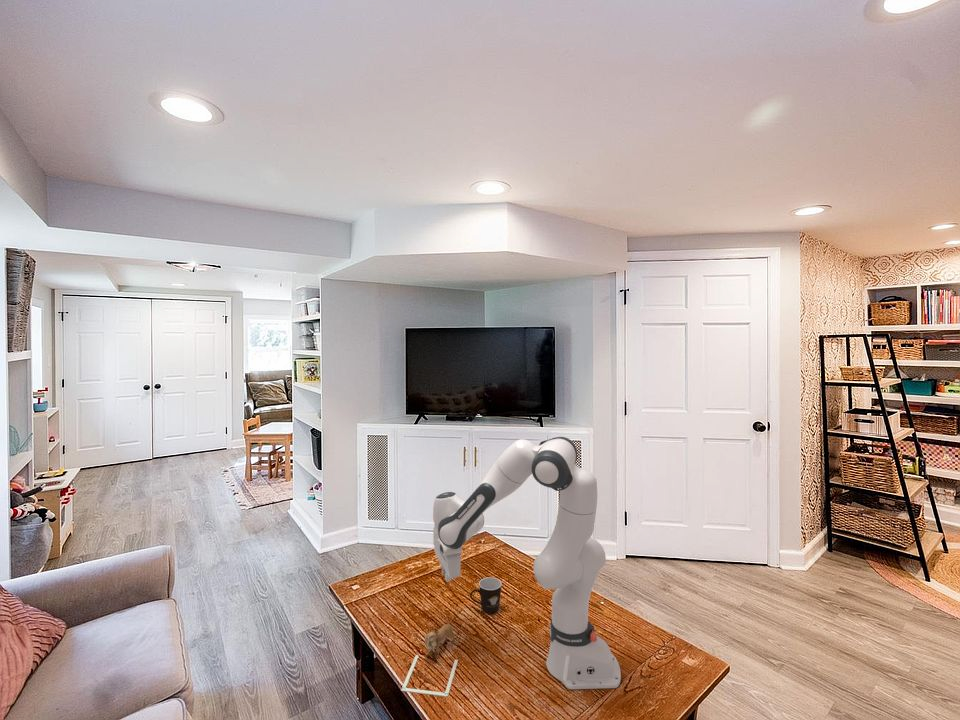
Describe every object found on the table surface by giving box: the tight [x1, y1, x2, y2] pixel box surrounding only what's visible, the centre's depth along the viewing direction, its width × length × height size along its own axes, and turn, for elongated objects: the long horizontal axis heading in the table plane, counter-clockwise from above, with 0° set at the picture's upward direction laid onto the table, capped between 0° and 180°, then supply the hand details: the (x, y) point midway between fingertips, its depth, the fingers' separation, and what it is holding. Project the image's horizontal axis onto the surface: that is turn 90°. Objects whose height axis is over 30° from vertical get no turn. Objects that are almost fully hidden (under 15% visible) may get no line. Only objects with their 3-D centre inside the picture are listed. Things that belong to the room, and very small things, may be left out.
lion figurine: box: [424, 624, 456, 658], centre depth 148 cm, size 15×5×9 cm, turn 151°
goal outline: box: [400, 654, 459, 697], centre depth 138 cm, size 14×14×1 cm
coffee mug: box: [469, 576, 502, 615], centre depth 170 cm, size 12×9×10 cm
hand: (446, 577), depth 157 cm, fingers open, 3 cm apart
